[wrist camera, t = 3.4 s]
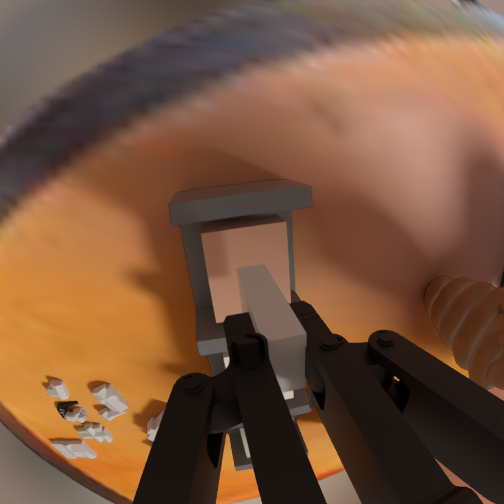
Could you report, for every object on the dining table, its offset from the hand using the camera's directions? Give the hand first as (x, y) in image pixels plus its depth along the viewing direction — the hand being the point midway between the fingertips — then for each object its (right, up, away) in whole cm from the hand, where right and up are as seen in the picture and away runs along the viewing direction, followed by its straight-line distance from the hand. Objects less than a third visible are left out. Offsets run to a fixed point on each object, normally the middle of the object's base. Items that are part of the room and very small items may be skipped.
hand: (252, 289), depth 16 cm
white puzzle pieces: (-19, -16, +10) cm, 27 cm away
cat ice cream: (+20, -2, +12) cm, 23 cm away
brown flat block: (-1, +1, +4) cm, 4 cm away
